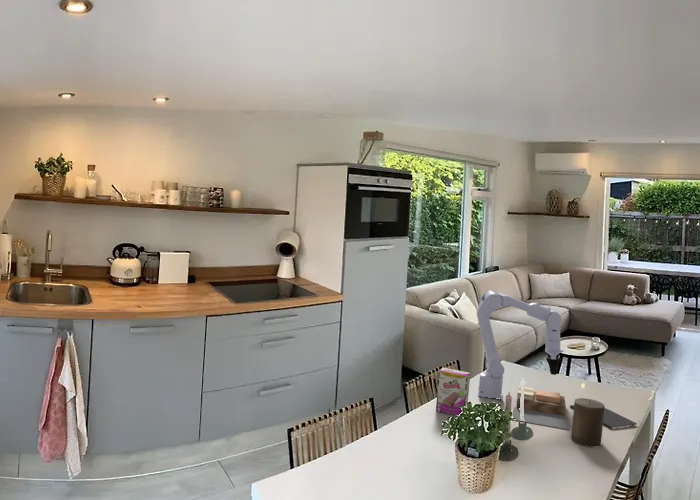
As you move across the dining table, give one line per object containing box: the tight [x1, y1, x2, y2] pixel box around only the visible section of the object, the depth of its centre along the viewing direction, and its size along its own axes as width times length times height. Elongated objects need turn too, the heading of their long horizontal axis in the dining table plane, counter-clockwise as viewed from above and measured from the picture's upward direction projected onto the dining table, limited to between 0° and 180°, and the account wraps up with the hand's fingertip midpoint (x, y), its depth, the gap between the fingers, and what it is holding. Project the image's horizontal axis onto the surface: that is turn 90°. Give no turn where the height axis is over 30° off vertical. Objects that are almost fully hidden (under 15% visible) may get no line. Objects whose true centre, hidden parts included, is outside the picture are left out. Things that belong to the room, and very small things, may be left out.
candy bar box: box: [435, 367, 471, 416], centre depth 207 cm, size 11×5×16 cm, turn 65°
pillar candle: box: [570, 397, 606, 448], centre depth 188 cm, size 10×10×15 cm
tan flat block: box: [515, 391, 567, 416], centre depth 218 cm, size 18×12×4 cm, turn 71°
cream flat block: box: [516, 385, 535, 400], centre depth 219 cm, size 9×6×2 cm, turn 161°
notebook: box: [569, 404, 637, 430], centre depth 212 cm, size 13×2×21 cm
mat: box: [512, 406, 570, 431], centre depth 207 cm, size 20×13×1 cm, turn 71°
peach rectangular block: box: [535, 389, 561, 403], centre depth 217 cm, size 9×6×2 cm, turn 71°
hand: (553, 371), depth 225 cm, fingers open, 7 cm apart
